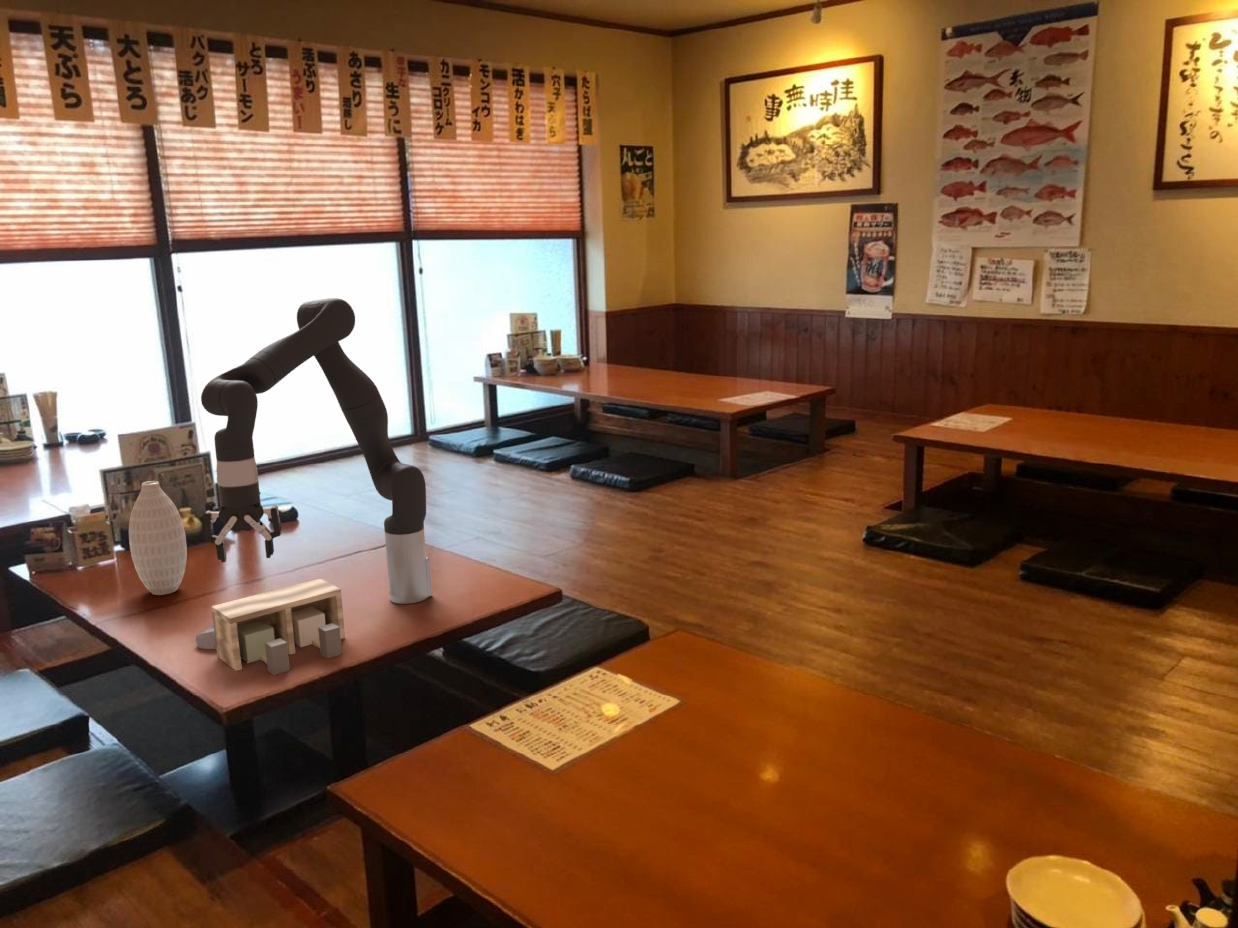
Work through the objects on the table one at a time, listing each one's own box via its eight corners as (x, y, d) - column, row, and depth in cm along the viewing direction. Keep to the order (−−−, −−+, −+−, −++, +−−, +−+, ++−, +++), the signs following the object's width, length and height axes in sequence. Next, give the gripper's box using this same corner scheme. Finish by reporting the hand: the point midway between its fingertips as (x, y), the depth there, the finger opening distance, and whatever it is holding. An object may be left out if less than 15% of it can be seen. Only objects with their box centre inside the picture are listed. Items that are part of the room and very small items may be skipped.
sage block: (236, 654, 207) (233, 627, 206) (264, 646, 211) (261, 620, 210) (267, 677, 196) (264, 648, 195) (296, 668, 200) (293, 640, 199)
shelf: (217, 656, 207) (211, 606, 204) (324, 625, 222) (319, 578, 220) (235, 670, 199) (229, 618, 197) (345, 637, 215) (340, 588, 213)
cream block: (288, 639, 215) (286, 613, 214) (314, 632, 219) (312, 606, 217) (321, 660, 203) (318, 633, 202) (348, 651, 207) (345, 625, 206)
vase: (193, 580, 256) (180, 474, 250) (189, 595, 245) (175, 485, 238) (140, 586, 253) (125, 479, 246) (133, 602, 241) (117, 490, 235)
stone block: (194, 656, 212) (234, 650, 210) (188, 635, 211) (228, 629, 209) (226, 637, 223) (265, 631, 221) (221, 617, 223) (259, 611, 220)
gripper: (277, 474, 200) (285, 550, 203) (202, 479, 197) (211, 557, 200) (274, 482, 193) (281, 561, 196) (196, 487, 189) (205, 568, 193)
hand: (246, 559), depth 198 cm, fingers open, 8 cm apart
